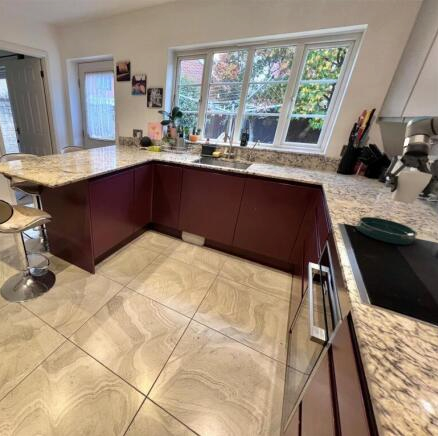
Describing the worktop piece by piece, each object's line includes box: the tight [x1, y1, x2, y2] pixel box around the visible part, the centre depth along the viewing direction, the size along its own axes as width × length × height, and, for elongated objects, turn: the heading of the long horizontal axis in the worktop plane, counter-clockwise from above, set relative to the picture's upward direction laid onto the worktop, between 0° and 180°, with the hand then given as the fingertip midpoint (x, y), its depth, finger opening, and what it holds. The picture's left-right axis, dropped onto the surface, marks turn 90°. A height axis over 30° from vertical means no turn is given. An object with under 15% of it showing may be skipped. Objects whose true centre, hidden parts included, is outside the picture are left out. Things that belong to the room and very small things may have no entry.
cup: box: [391, 169, 432, 204], centre depth 96 cm, size 9×9×12 cm
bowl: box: [355, 216, 418, 246], centre depth 100 cm, size 18×18×4 cm
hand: (409, 192), depth 95 cm, fingers closed on cup, 9 cm apart
